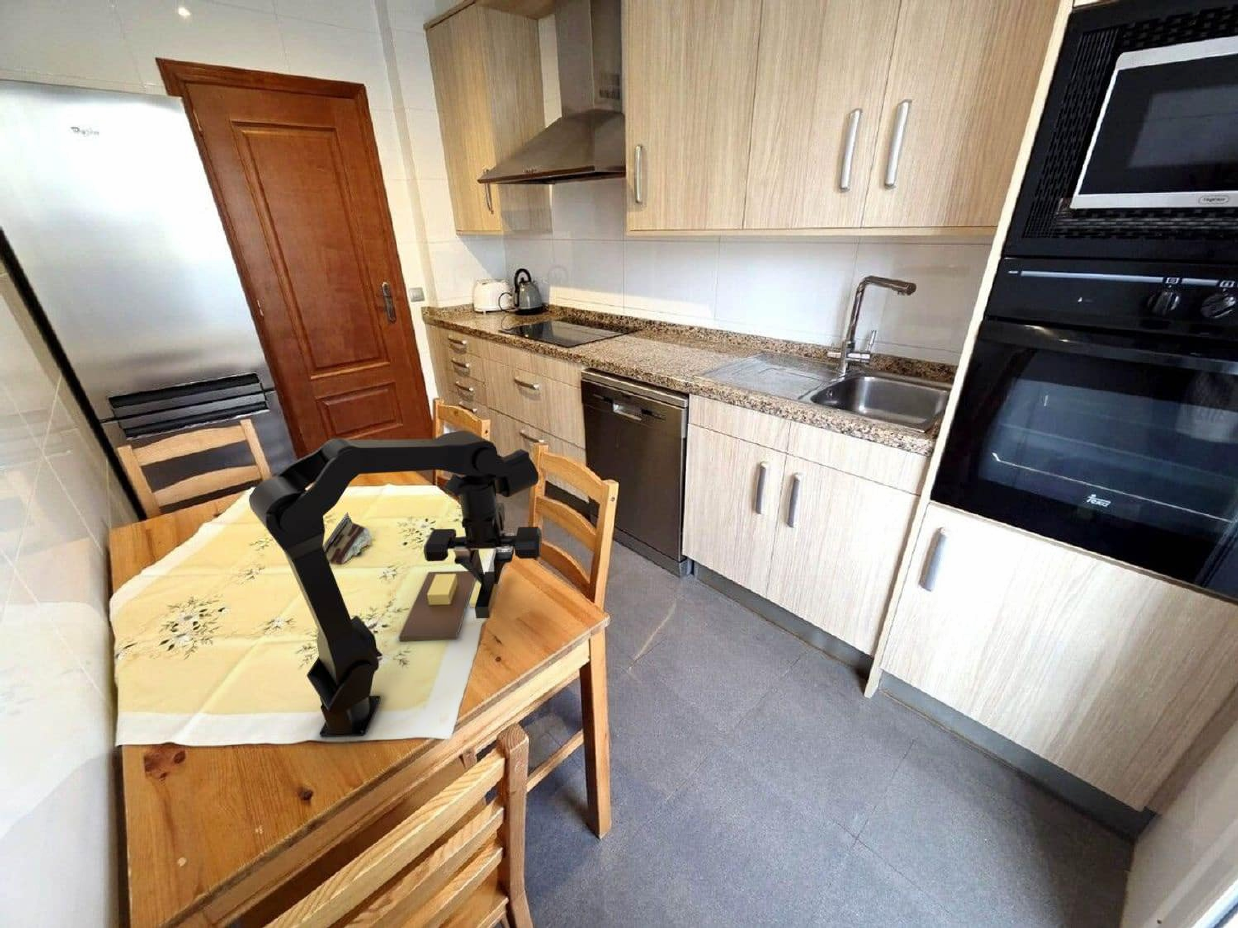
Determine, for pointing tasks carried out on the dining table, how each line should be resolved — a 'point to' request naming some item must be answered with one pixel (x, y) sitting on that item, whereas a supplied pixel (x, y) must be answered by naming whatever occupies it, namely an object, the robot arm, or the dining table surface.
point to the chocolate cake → (346, 541)
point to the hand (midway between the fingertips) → (490, 582)
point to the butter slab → (475, 594)
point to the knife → (487, 592)
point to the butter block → (442, 589)
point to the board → (438, 611)
